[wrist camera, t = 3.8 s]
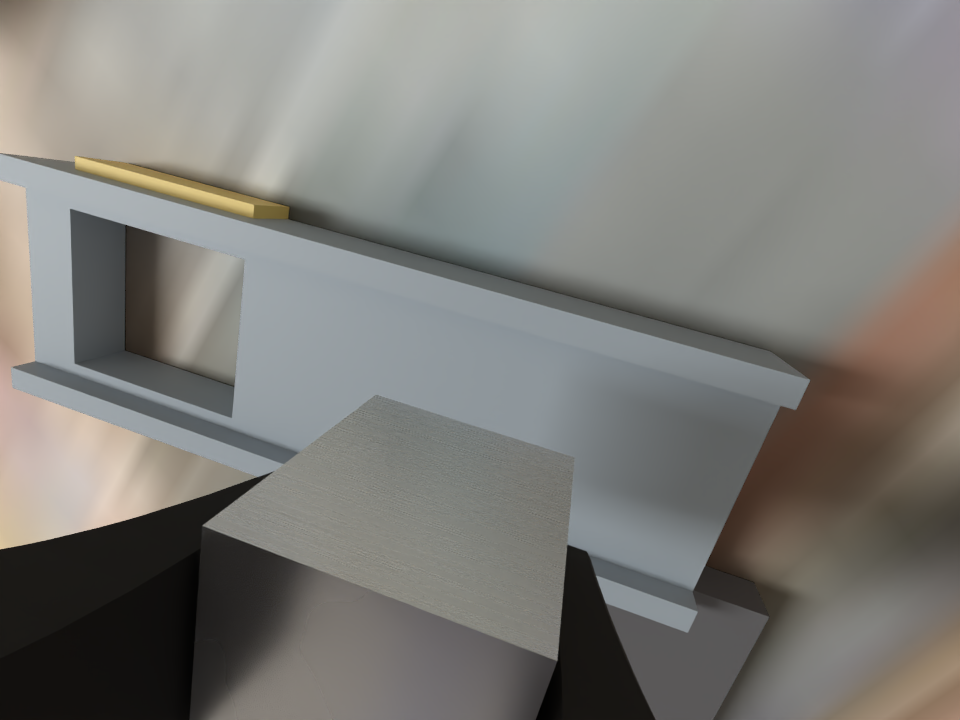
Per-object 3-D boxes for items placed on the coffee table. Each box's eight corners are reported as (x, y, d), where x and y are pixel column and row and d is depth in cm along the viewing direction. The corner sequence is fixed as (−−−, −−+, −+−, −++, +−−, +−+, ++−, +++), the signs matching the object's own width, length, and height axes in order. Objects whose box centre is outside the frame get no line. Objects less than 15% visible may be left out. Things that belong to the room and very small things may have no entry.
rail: (668, 577, 17) (682, 643, 14) (89, 375, 20) (13, 397, 18) (776, 338, 14) (818, 364, 11) (84, 151, 17) (-6, 138, 15)
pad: (678, 728, 18) (685, 770, 17) (500, 658, 19) (493, 692, 18) (753, 582, 16) (769, 616, 15) (549, 512, 17) (545, 538, 16)
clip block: (520, 623, 10) (467, 903, 6) (346, 558, 11) (185, 771, 7) (574, 457, 9) (557, 661, 5) (375, 394, 10) (201, 525, 5)
